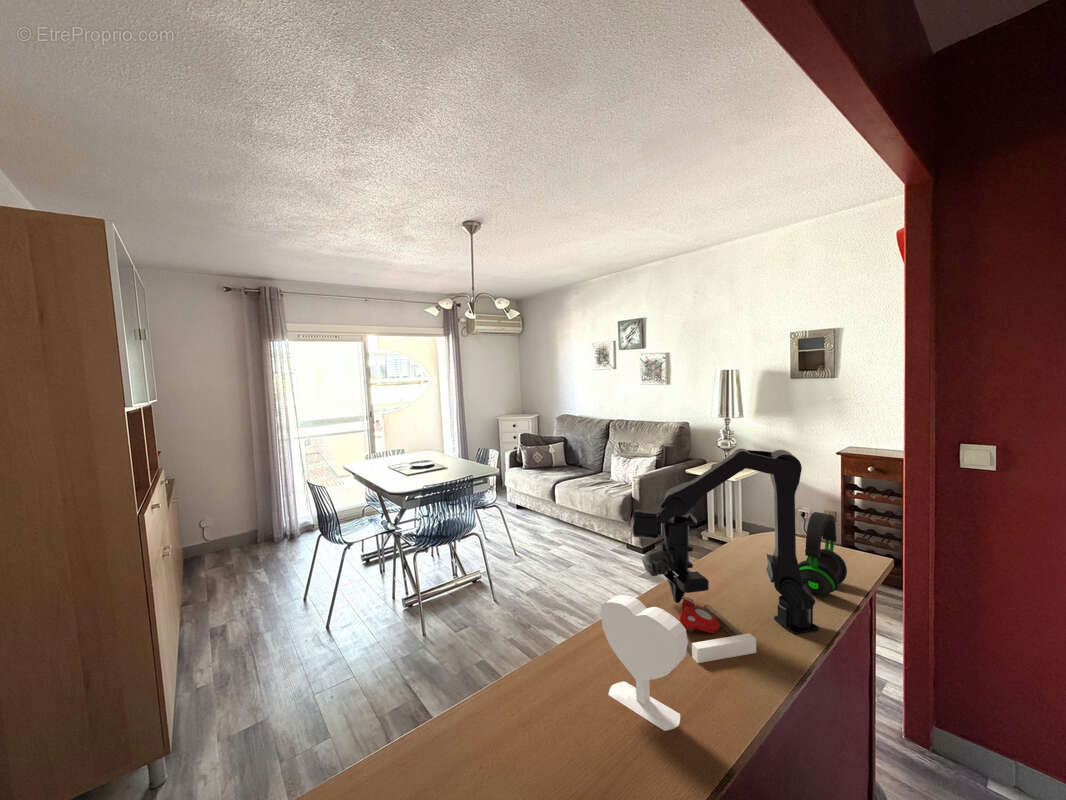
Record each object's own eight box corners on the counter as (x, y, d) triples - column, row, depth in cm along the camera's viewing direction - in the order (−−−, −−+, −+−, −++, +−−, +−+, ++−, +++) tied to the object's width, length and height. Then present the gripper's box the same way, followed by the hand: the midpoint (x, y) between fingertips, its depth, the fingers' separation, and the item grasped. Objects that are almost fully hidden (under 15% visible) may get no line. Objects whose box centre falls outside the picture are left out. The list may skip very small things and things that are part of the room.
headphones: (850, 584, 118) (851, 511, 117) (833, 606, 108) (833, 526, 107) (810, 573, 125) (811, 503, 124) (790, 592, 115) (790, 517, 114)
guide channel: (708, 610, 108) (708, 598, 108) (756, 652, 92) (756, 638, 92) (657, 617, 106) (657, 605, 106) (697, 663, 89) (697, 648, 89)
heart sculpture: (691, 720, 75) (689, 617, 74) (675, 737, 71) (674, 630, 70) (616, 676, 86) (614, 586, 85) (599, 689, 83) (597, 596, 82)
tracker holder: (730, 623, 101) (702, 627, 96) (723, 640, 101) (695, 645, 96) (689, 590, 111) (662, 592, 106) (683, 605, 112) (656, 608, 106)
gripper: (630, 530, 116) (631, 588, 117) (664, 559, 98) (665, 627, 99) (669, 526, 118) (669, 583, 119) (710, 554, 100) (710, 621, 101)
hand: (677, 602), depth 110 cm, fingers closed
